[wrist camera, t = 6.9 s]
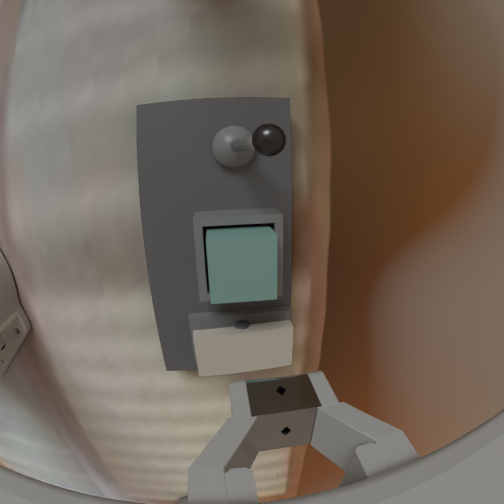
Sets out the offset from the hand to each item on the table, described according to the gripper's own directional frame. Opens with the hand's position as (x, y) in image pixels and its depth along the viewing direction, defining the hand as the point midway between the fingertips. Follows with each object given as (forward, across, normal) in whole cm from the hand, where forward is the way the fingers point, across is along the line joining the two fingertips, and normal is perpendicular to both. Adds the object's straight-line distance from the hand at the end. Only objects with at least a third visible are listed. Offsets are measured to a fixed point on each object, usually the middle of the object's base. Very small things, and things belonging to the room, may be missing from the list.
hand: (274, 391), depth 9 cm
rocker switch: (+14, 0, +8) cm, 16 cm away
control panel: (+19, +1, 0) cm, 19 cm away
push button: (+14, 0, 0) cm, 14 cm away
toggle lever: (+15, 0, -8) cm, 17 cm away
